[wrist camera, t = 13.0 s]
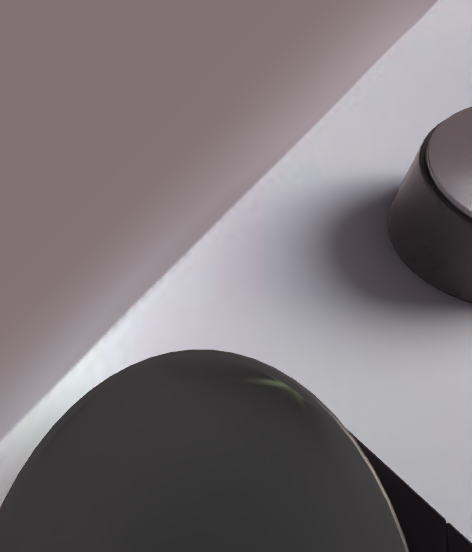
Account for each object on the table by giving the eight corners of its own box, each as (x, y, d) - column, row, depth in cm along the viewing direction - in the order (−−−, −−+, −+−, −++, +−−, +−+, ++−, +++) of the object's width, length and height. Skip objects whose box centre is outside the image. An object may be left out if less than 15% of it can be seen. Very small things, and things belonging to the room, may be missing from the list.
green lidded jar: (346, 429, 10) (447, 427, 4) (304, 668, 8) (405, 1571, 2) (197, 370, 12) (115, 308, 6) (122, 549, 9) (-160, 765, 3)
